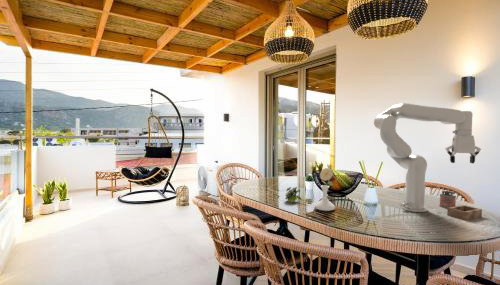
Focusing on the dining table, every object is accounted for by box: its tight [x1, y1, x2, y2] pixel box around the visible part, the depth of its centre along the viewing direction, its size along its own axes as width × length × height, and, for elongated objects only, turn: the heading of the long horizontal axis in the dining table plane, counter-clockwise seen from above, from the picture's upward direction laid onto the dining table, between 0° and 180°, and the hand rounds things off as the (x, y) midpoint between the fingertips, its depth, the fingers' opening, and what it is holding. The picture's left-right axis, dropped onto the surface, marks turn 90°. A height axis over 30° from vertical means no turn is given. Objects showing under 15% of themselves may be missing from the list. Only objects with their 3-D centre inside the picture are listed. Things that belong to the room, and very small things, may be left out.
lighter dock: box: [446, 204, 483, 221], centre depth 150 cm, size 13×9×4 cm
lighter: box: [438, 190, 457, 209], centre depth 166 cm, size 8×3×10 cm, turn 45°
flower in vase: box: [314, 167, 336, 212], centre depth 162 cm, size 13×11×25 cm
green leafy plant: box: [284, 186, 302, 204], centre depth 182 cm, size 11×11×12 cm
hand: (462, 162), depth 160 cm, fingers open, 9 cm apart
